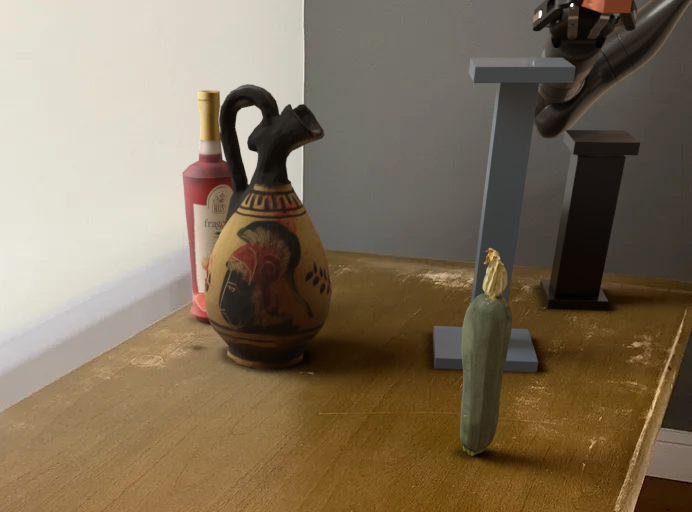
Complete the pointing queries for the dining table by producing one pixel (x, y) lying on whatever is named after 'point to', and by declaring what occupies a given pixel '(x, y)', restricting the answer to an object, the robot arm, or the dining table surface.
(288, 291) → the ceramic jug
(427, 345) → the dining table surface
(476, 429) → the vegetable
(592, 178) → the pedestal
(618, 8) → the orange rectangular block
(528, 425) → the dining table surface
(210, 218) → the liquor
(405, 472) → the dining table surface
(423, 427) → the dining table surface
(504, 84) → the blue display stand
